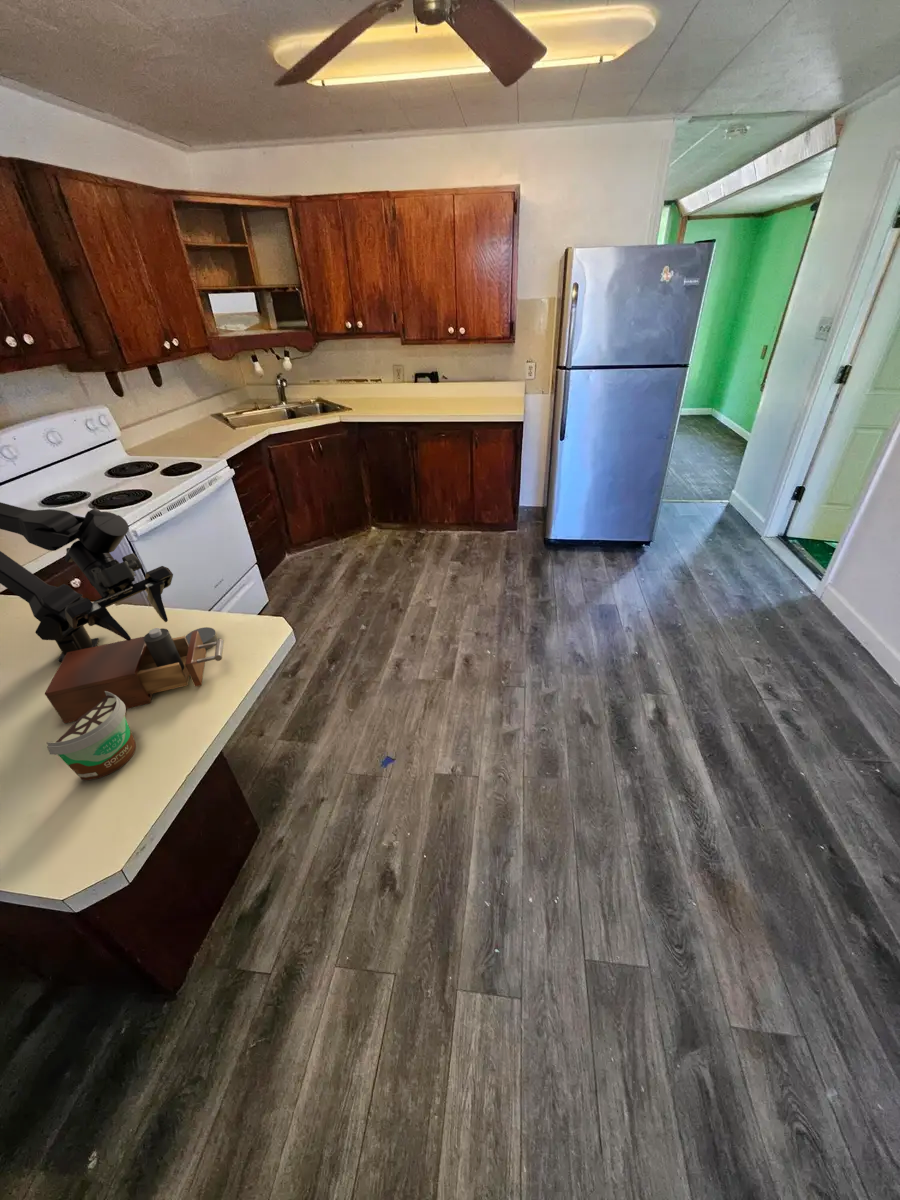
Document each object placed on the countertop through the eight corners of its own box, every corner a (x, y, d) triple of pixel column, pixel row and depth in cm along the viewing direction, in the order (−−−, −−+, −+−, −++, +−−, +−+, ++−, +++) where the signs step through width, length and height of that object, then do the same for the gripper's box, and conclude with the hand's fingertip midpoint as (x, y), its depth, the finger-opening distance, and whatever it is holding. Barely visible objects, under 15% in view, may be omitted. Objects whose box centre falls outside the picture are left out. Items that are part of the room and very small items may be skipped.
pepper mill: (171, 662, 101) (153, 623, 96) (189, 664, 100) (171, 625, 94) (155, 675, 97) (136, 636, 92) (173, 678, 96) (154, 638, 91)
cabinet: (161, 663, 104) (147, 635, 100) (150, 703, 94) (134, 673, 90) (84, 680, 100) (66, 652, 96) (64, 723, 90) (44, 693, 86)
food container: (106, 792, 77) (77, 750, 71) (74, 787, 78) (43, 745, 72) (160, 733, 87) (138, 692, 81) (130, 729, 88) (107, 688, 83)
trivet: (188, 638, 111) (185, 631, 110) (219, 631, 113) (216, 624, 112) (185, 654, 106) (181, 647, 105) (217, 647, 108) (214, 640, 107)
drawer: (229, 646, 106) (221, 625, 103) (226, 679, 97) (217, 657, 94) (138, 666, 102) (126, 645, 99) (126, 703, 93) (113, 680, 89)
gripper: (40, 568, 82) (97, 641, 82) (150, 528, 94) (199, 592, 95) (46, 594, 90) (97, 660, 90) (146, 554, 103) (191, 613, 103)
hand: (148, 630), depth 94 cm, fingers open, 7 cm apart
